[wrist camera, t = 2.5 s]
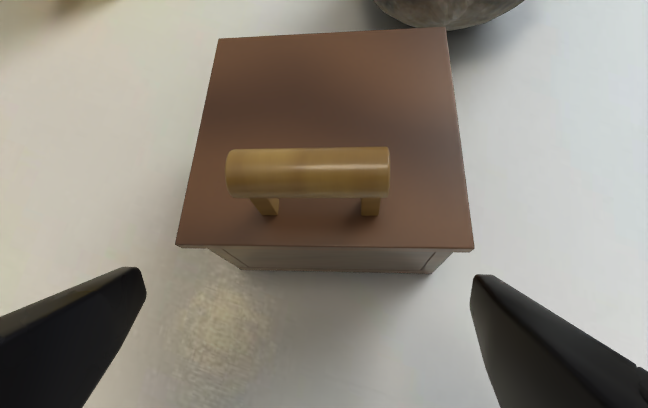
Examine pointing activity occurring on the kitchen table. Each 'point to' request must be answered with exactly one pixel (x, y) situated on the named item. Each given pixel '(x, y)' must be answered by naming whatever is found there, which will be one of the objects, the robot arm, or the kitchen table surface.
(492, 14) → the bowl
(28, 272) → the kitchen table surface
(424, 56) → the lid
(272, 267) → the chest
